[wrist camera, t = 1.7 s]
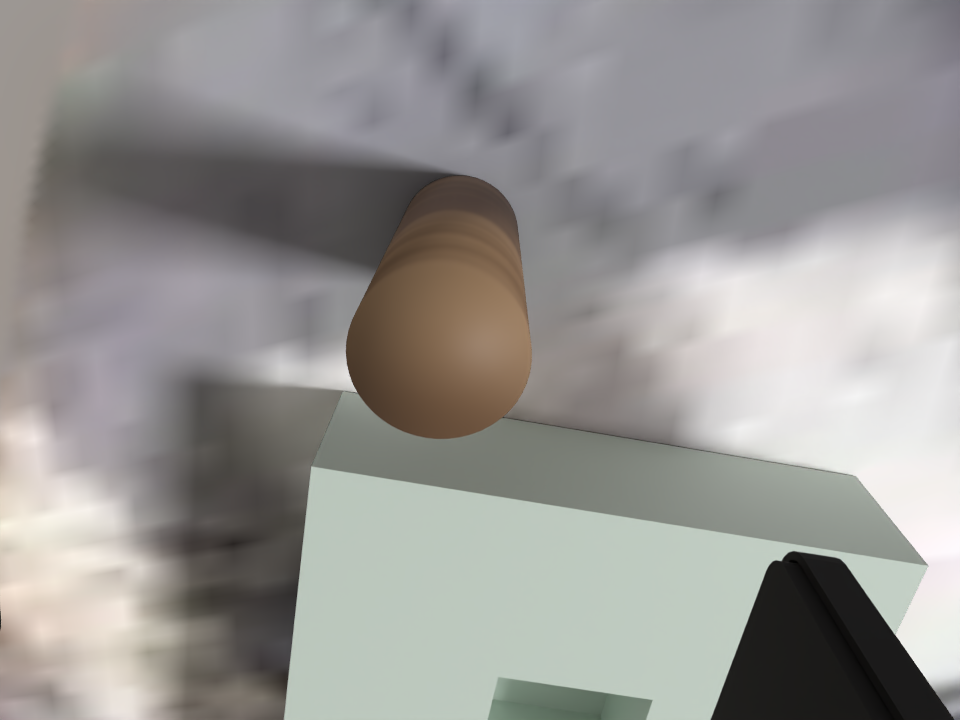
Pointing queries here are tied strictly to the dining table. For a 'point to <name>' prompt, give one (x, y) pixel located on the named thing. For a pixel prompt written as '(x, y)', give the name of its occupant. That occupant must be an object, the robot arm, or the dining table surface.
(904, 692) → the robot arm
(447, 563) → the socket
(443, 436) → the peg
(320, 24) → the dining table surface
